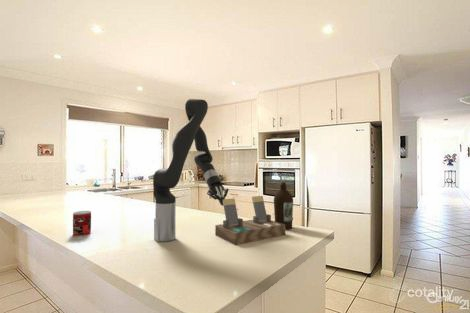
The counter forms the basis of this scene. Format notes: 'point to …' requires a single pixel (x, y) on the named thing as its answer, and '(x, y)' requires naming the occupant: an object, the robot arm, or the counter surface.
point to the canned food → (81, 223)
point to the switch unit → (249, 230)
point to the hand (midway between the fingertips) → (223, 204)
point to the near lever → (231, 212)
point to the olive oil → (283, 206)
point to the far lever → (259, 208)
